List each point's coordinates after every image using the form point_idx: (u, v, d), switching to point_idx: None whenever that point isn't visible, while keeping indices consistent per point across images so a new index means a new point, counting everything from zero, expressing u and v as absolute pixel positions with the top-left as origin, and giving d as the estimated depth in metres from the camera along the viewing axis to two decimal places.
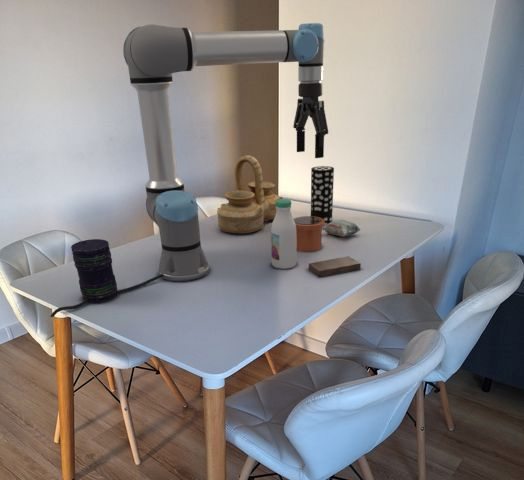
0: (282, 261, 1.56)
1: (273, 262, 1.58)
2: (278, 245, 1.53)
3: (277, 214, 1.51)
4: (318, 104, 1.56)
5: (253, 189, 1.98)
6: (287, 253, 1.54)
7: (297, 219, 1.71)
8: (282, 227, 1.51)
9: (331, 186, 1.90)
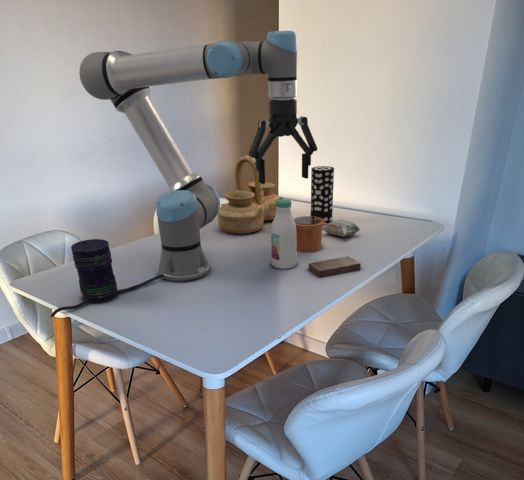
0: (282, 261, 1.56)
1: (273, 262, 1.58)
2: (278, 245, 1.53)
3: (277, 214, 1.51)
4: (258, 124, 1.38)
5: (253, 189, 1.98)
6: (288, 252, 1.54)
7: (297, 219, 1.71)
8: (282, 227, 1.51)
9: (331, 186, 1.90)
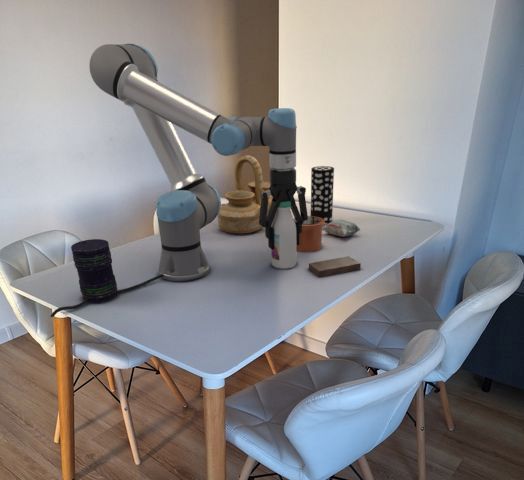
0: (282, 261, 1.56)
1: (273, 262, 1.58)
2: (278, 245, 1.53)
3: (277, 214, 1.51)
4: (261, 195, 1.48)
5: (253, 189, 1.98)
6: (287, 252, 1.54)
7: None
8: (282, 227, 1.51)
9: (331, 186, 1.90)
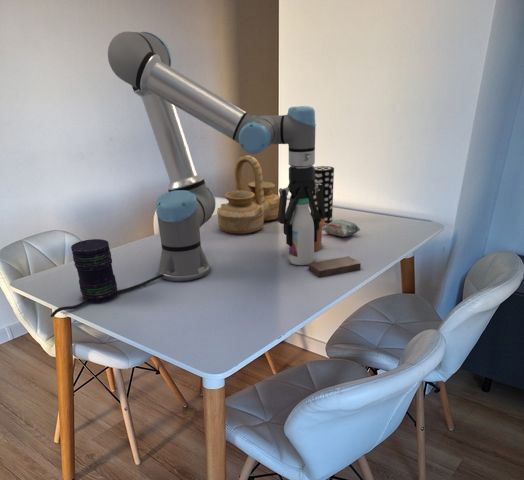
0: (300, 258, 1.57)
1: (291, 259, 1.59)
2: (296, 242, 1.55)
3: (295, 211, 1.53)
4: (279, 192, 1.49)
5: (253, 189, 1.98)
6: (305, 249, 1.56)
7: None
8: (300, 224, 1.52)
9: (331, 186, 1.90)
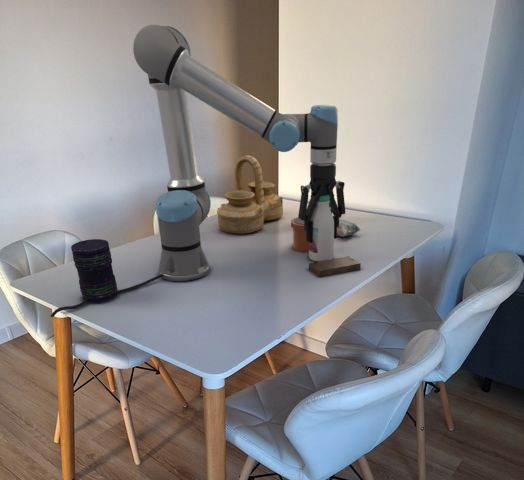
0: (320, 254, 1.60)
1: (311, 255, 1.62)
2: (317, 239, 1.57)
3: (316, 208, 1.55)
4: (301, 190, 1.51)
5: (253, 189, 1.98)
6: (326, 246, 1.58)
7: (297, 219, 1.71)
8: (321, 221, 1.54)
9: None
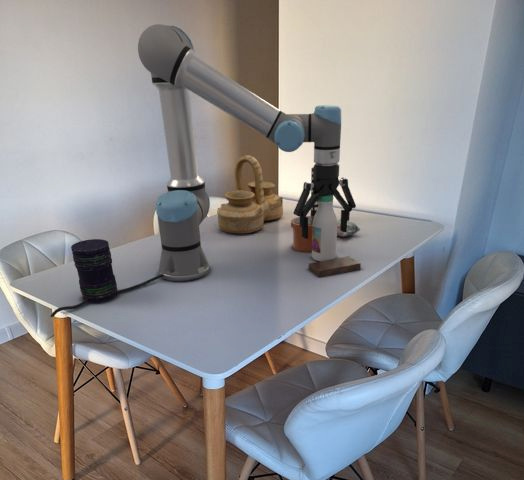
0: (323, 254, 1.60)
1: (314, 255, 1.62)
2: (320, 239, 1.58)
3: (319, 208, 1.55)
4: (304, 186, 1.51)
5: (253, 189, 1.98)
6: (329, 246, 1.59)
7: (297, 219, 1.71)
8: (324, 221, 1.55)
9: None
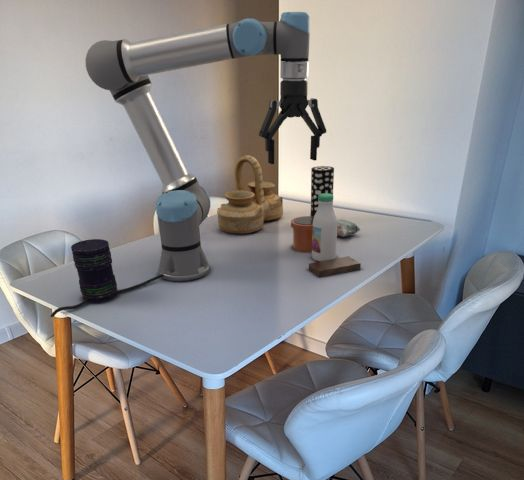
0: (323, 254, 1.60)
1: (314, 255, 1.62)
2: (320, 239, 1.58)
3: (319, 208, 1.55)
4: (269, 104, 1.41)
5: (253, 189, 1.98)
6: (329, 246, 1.59)
7: (297, 219, 1.71)
8: (324, 221, 1.55)
9: (331, 186, 1.90)
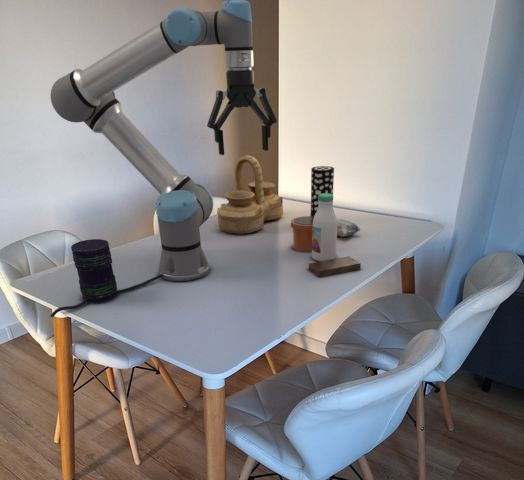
0: (323, 254, 1.60)
1: (314, 255, 1.62)
2: (320, 239, 1.58)
3: (319, 208, 1.55)
4: (216, 94, 1.40)
5: (253, 189, 1.98)
6: (329, 246, 1.59)
7: (297, 219, 1.71)
8: (324, 221, 1.55)
9: (331, 186, 1.90)
